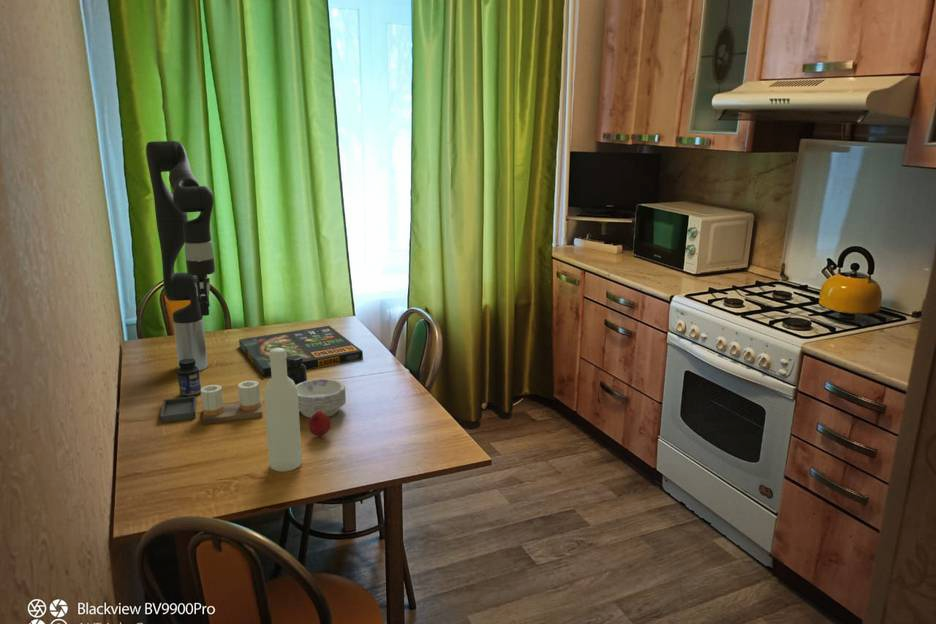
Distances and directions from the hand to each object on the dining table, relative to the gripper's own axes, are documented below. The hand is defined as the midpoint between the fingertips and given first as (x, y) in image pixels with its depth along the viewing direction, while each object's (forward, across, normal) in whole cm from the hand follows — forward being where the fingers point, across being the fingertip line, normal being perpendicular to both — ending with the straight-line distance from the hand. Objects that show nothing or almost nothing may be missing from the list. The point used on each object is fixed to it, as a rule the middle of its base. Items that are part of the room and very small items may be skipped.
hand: (205, 311), depth 194 cm
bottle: (+28, +48, +17) cm, 58 cm away
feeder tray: (+28, +7, -10) cm, 30 cm away
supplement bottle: (+28, +4, +24) cm, 37 cm away
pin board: (+28, +13, +5) cm, 31 cm away
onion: (+28, +36, +27) cm, 53 cm away
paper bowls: (+28, +20, +29) cm, 45 cm away
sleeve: (+26, +13, 0) cm, 29 cm away
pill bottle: (+28, -6, -7) cm, 30 cm away
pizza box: (+29, -34, +29) cm, 53 cm away
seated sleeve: (+26, +13, +10) cm, 31 cm away
